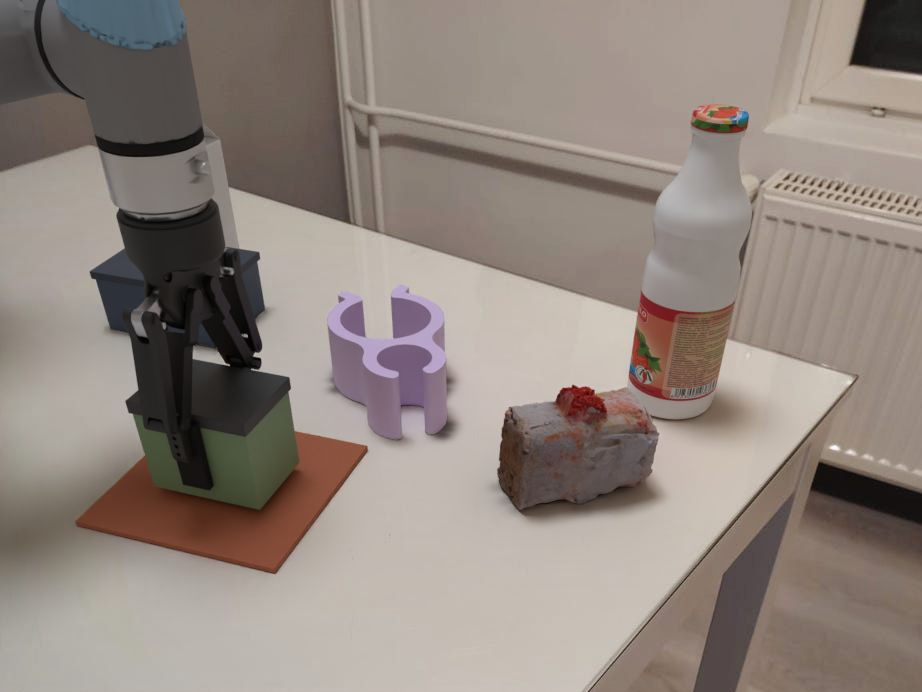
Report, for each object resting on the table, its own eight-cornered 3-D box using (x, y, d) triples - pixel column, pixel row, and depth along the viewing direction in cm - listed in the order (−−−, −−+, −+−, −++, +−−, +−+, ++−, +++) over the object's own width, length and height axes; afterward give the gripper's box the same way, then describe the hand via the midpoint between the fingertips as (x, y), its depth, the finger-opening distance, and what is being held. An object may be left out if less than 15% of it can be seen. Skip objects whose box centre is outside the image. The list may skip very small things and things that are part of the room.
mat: (76, 525, 81) (74, 521, 81) (193, 414, 95) (192, 410, 94) (275, 573, 77) (274, 569, 77) (368, 449, 90) (367, 445, 90)
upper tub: (150, 487, 83) (124, 400, 77) (198, 440, 89) (177, 355, 82) (261, 512, 81) (243, 425, 74) (302, 461, 86) (289, 376, 80)
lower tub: (106, 329, 108) (88, 271, 103) (159, 289, 115) (146, 233, 110) (221, 350, 104) (209, 291, 99) (268, 308, 112) (259, 251, 107)
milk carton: (196, 252, 124) (163, 96, 110) (242, 259, 122) (214, 102, 108) (167, 272, 119) (129, 112, 105) (214, 281, 117) (181, 119, 104)
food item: (617, 449, 91) (630, 360, 84) (655, 494, 86) (672, 402, 79) (492, 475, 87) (494, 384, 80) (522, 523, 82) (528, 430, 75)
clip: (473, 428, 93) (474, 367, 88) (355, 445, 91) (349, 383, 86) (428, 339, 107) (426, 282, 102) (323, 352, 104) (316, 294, 99)
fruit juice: (701, 429, 94) (766, 134, 74) (615, 410, 96) (654, 119, 76) (720, 387, 100) (784, 103, 80) (638, 370, 102) (680, 90, 82)
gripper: (127, 265, 59) (199, 534, 76) (276, 164, 74) (310, 408, 90) (32, 249, 61) (123, 516, 77) (196, 153, 75) (244, 395, 91)
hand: (224, 458), depth 83 cm, fingers closed on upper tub, 8 cm apart
